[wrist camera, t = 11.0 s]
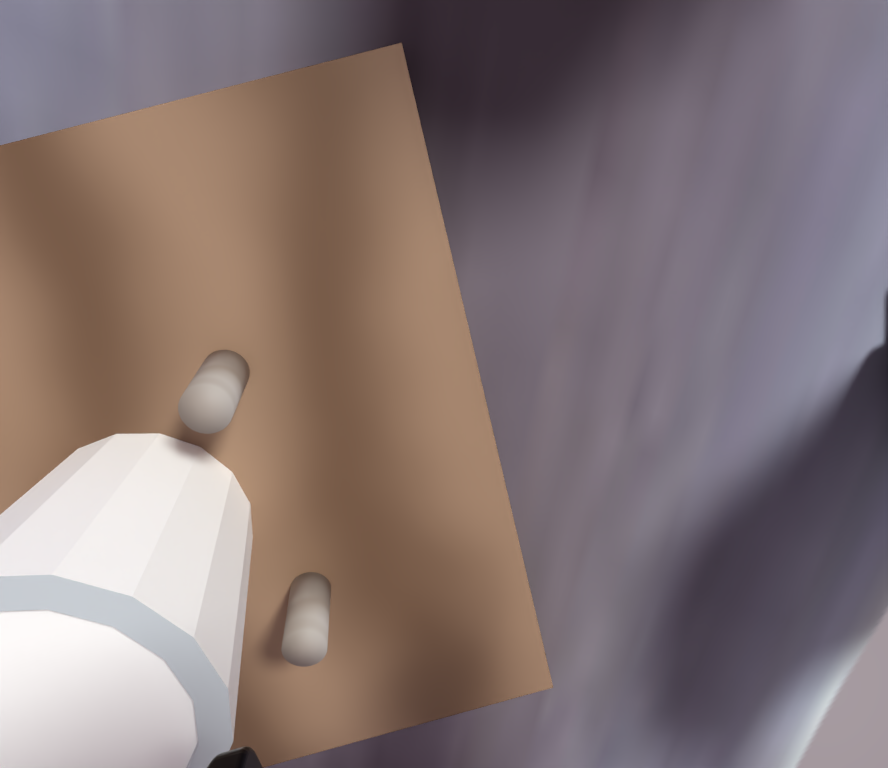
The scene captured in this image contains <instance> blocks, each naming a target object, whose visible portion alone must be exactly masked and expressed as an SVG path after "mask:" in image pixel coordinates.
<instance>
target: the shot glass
mask: <svg viewBox="0 0 888 768" xmlns="http://www.w3.org/2000/svg"><path fill="white" fill-rule="evenodd" d="M252 540H253V534H252V520H251V505H250V502H249V501H248V499H247V497H246V495H245V493H244V492H243V490H242V488H241V486H240V485H239V483H238V481H237V479H236V478H235V476H234V474H233V472H232V471H230V470H229V469H228V468H227V467H225V466H224V465H223V464H222V463H220V462H219V461H218V460H216V459H215V458H214V457H213V456H211V455H210V454H209V453H208V452H206V451H205V450H204V449H202V448H201V447H199V446H196V445H193V444H190V443H187V442H184V441H181V440H178V439H175V438H172V437H169V436H166V435H163V434H160V433H147V434H115V435H112V436H109V437H107V438H104V439H102V440H99V441H96V442H94V443H91V444H89V445H86V446H84V447H81V448H78V449H77V450H76V451H75V452H73V453H72V454H71V455H70V456H69V457H68V458H66V459H65V460H64V461H63V462H62V463H60V464H59V465H58V466H57V467H56V468H55V469H53V470H52V471H51V472H50V473H49V474H48V475H46V476H45V477H44V478H43V479H42V480H40V481H39V482H38V483H37V484H36V485H35V486H33V487H32V488H31V489H30V490H29V491H28V492H26V493H25V494H24V495H23V496H22V497H20V498H19V499H18V500H17V501H16V502H15V503H13V504H12V505H11V506H10V507H9V508H8V509H6V510H5V511H4V512H3V513H2V514H0V768H207V766H208V765H209V763H210V762H211V760H212V759H213V758H214V757H215V756H216V755H218V754H220V753H223V752H226V751H229V750H230V748H231V745H232V743H233V738H234V728H235V717H236V707H237V696H238V686H239V675H240V665H241V654H242V644H243V634H244V623H245V613H246V602H247V592H248V581H249V571H250V561H251V550H252Z"/></svg>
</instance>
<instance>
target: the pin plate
mask: <svg viewBox="0 0 888 768" xmlns="http://www.w3.org/2000/svg"><path fill="white" fill-rule="evenodd" d="M147 433H160V434H163V435H166V436H169V437H172V438H175V439H178V440H181V441H184V442H187V443H190V444H193V445H196V446H199V447H201V448H202V449H204V450H205V451H206V452H208V453H209V454H210V455H211V456H213V457H214V458H215V459H216V460H218V461H219V462H220V463H222V464H223V465H224V466H225V467H227V468H228V469H229V470H230V471H232V472H233V474H234V476H235V478H236V479H237V481H238V483H239V485H240V486H241V488H242V490H243V492H244V493H245V495H246V497H247V499H248V501H249V502H250V505H251V520H252V534H253V540H252V550H251V561H250V571H249V581H248V592H247V602H246V613H245V623H244V634H243V644H242V654H241V665H240V675H239V686H238V696H237V707H236V717H235V728H234V738H233V743H232V745H231V748H230V750H233V749H237V748H241V747H244V746H246V747H248V746H249V747H251V748H252V749H253V750H254V751H255V753H256V754H257V757H258V759H259V761H260V763H261V765H262V767H267V766H270V765H274V764H278V763H281V762H285V761H289V760H292V759H296V758H299V757H303V756H307V755H310V754H314V753H318V752H321V751H325V750H328V749H332V748H336V747H339V746H343V745H347V744H350V743H354V742H357V741H361V740H365V739H368V738H372V737H375V736H379V735H383V734H386V733H390V732H394V731H397V730H401V729H404V728H408V727H412V726H415V725H419V724H423V723H426V722H430V721H433V720H437V719H441V718H444V717H448V716H452V715H455V714H459V713H462V712H466V711H470V710H473V709H477V708H481V707H484V706H488V705H491V704H495V703H499V702H502V701H506V700H509V699H513V698H517V697H520V696H524V695H528V694H531V693H535V692H538V691H542V690H546V689H549V688H553V685H552V681H551V676H550V672H549V668H548V664H547V659H546V655H545V651H544V646H543V642H542V638H541V634H540V629H539V625H538V621H537V617H536V612H535V608H534V604H533V600H532V595H531V591H530V587H529V583H528V578H527V574H526V570H525V566H524V561H523V557H522V553H521V549H520V544H519V540H518V536H517V532H516V527H515V523H514V519H513V515H512V510H511V506H510V502H509V498H508V493H507V489H506V485H505V480H504V476H503V472H502V468H501V463H500V459H499V455H498V451H497V446H496V442H495V438H494V434H493V429H492V425H491V421H490V417H489V412H488V408H487V404H486V400H485V395H484V391H483V387H482V383H481V378H480V374H479V370H478V366H477V361H476V357H475V353H474V349H473V344H472V340H471V336H470V331H469V327H468V323H467V319H466V314H465V310H464V306H463V302H462V297H461V293H460V289H459V285H458V280H457V276H456V272H455V268H454V263H453V259H452V255H451V251H450V246H449V242H448V238H447V234H446V229H445V225H444V221H443V217H442V212H441V208H440V204H439V200H438V195H437V191H436V187H435V183H434V178H433V174H432V170H431V165H430V161H429V157H428V153H427V148H426V144H425V140H424V136H423V131H422V127H421V123H420V119H419V114H418V110H417V106H416V102H415V97H414V93H413V89H412V85H411V80H410V76H409V72H408V68H407V63H406V59H405V55H404V51H403V46H402V43H398V44H394V45H390V46H386V47H383V48H379V49H375V50H371V51H367V52H363V53H359V54H355V55H351V56H347V57H344V58H340V59H336V60H332V61H328V62H324V63H320V64H316V65H312V66H308V67H305V68H301V69H297V70H293V71H289V72H285V73H281V74H277V75H273V76H269V77H266V78H262V79H258V80H254V81H250V82H246V83H242V84H238V85H234V86H230V87H227V88H223V89H219V90H215V91H211V92H207V93H203V94H199V95H195V96H191V97H188V98H184V99H180V100H176V101H172V102H168V103H164V104H160V105H156V106H153V107H149V108H145V109H141V110H137V111H133V112H129V113H125V114H121V115H117V116H114V117H110V118H106V119H102V120H98V121H94V122H90V123H86V124H82V125H78V126H75V127H71V128H67V129H63V130H59V131H55V132H51V133H47V134H43V135H39V136H36V137H32V138H28V139H24V140H20V141H16V142H12V143H8V144H4V145H0V514H2V513H3V512H4V511H5V510H6V509H8V508H9V507H10V506H11V505H12V504H13V503H15V502H16V501H17V500H18V499H19V498H20V497H22V496H23V495H24V494H25V493H26V492H28V491H29V490H30V489H31V488H32V487H33V486H35V485H36V484H37V483H38V482H39V481H40V480H42V479H43V478H44V477H45V476H46V475H48V474H49V473H50V472H51V471H52V470H53V469H55V468H56V467H57V466H58V465H59V464H60V463H62V462H63V461H64V460H65V459H66V458H68V457H69V456H70V455H71V454H72V453H73V452H75V451H76V450H77V449H78V448H81V447H84V446H86V445H89V444H91V443H94V442H96V441H99V440H102V439H104V438H107V437H109V436H112V435H115V434H147ZM230 750H229V751H230Z"/></svg>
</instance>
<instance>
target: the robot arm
mask: <svg viewBox="0 0 888 768" xmlns="http://www.w3.org/2000/svg"><path fill="white" fill-rule="evenodd" d="M207 768H263V767H262V765H261V763H260V761H259V759H258V757H257V754H256V753H255V751H254V750H253V749H252V748H251V747H249V746H248V747H246V746H244V747H241V748H237V749H233V750H230V751H226V752H223V753H220V754H218V755H216V756H215V757H214V758H213V759H212V760H211V762H210V763H209V765H208V766H207Z"/></svg>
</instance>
